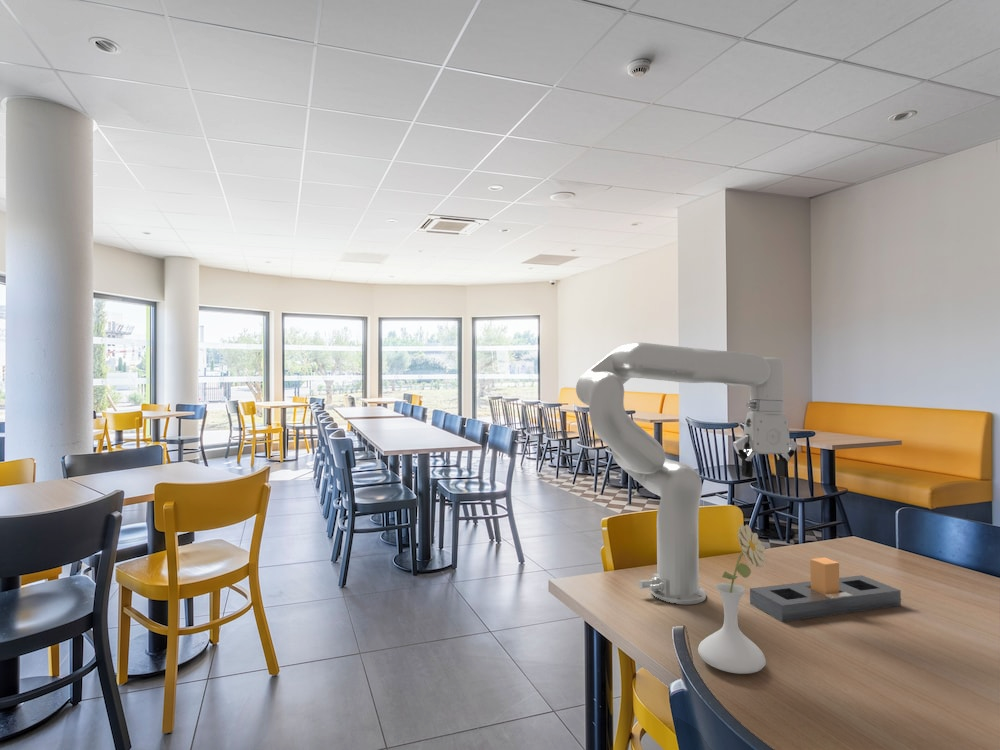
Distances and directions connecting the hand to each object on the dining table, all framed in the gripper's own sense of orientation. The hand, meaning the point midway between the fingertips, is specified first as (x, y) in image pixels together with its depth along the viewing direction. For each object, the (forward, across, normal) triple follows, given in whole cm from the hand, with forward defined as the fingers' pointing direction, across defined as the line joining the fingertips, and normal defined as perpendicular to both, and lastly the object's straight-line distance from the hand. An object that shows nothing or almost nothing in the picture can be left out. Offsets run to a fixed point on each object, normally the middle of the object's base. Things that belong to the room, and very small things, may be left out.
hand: (764, 476), depth 137 cm
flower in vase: (+29, -29, -30) cm, 51 cm away
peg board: (+27, +7, -12) cm, 31 cm away
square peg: (+27, +8, -12) cm, 31 cm away
